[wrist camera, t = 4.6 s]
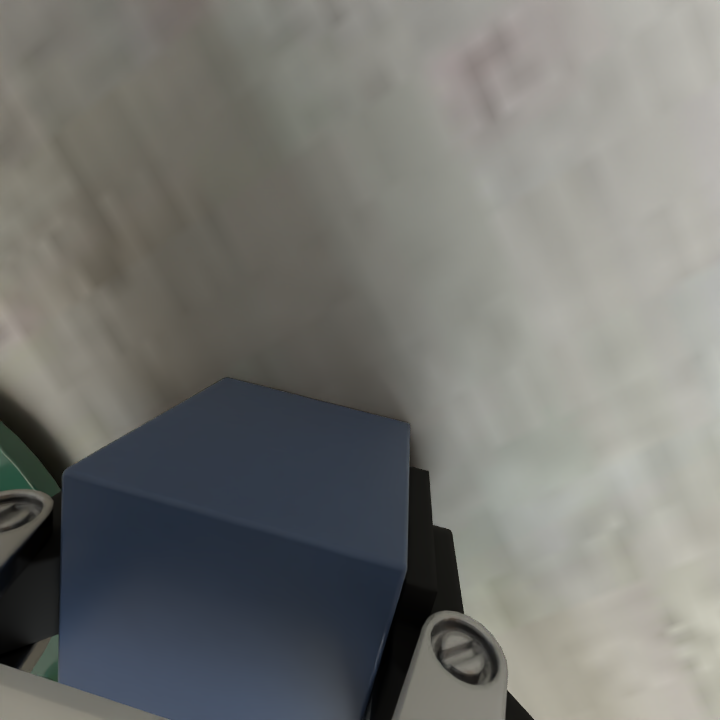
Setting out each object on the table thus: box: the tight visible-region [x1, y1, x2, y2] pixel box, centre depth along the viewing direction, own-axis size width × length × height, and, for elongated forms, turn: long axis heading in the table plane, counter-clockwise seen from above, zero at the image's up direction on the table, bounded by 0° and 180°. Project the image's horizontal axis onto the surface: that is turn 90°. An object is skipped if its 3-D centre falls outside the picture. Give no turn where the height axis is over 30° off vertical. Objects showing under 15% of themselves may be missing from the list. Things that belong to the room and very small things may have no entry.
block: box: [58, 377, 410, 720], centre depth 8 cm, size 5×5×5 cm
